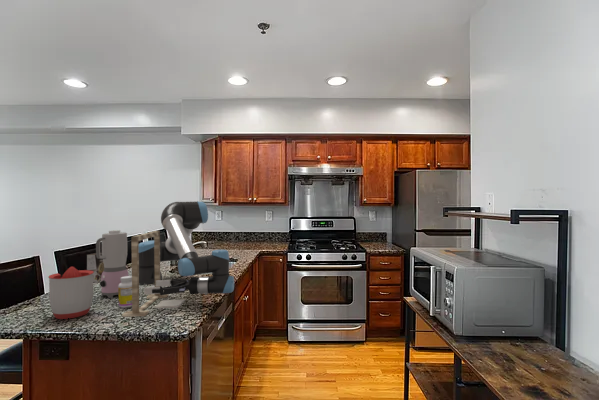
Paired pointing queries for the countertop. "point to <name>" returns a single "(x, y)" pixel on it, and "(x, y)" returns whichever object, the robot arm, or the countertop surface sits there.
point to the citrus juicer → (71, 293)
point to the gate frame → (135, 274)
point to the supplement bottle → (125, 292)
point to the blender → (112, 261)
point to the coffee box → (95, 266)
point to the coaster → (170, 303)
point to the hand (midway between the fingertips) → (150, 286)
